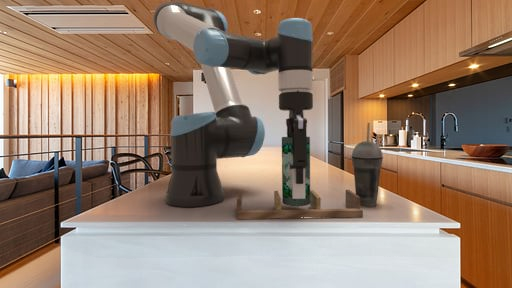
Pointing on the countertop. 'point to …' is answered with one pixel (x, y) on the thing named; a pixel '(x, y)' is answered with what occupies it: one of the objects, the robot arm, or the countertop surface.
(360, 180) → the beverage cup
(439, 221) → the countertop surface
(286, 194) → the can
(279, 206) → the notch rack
